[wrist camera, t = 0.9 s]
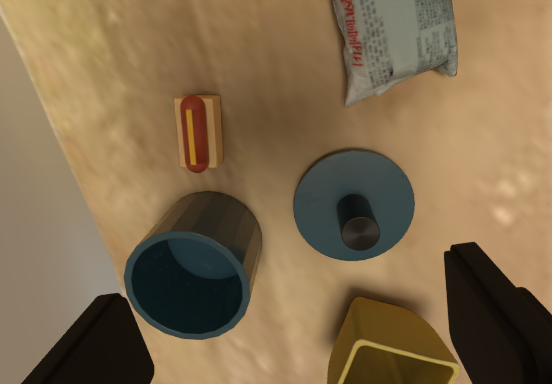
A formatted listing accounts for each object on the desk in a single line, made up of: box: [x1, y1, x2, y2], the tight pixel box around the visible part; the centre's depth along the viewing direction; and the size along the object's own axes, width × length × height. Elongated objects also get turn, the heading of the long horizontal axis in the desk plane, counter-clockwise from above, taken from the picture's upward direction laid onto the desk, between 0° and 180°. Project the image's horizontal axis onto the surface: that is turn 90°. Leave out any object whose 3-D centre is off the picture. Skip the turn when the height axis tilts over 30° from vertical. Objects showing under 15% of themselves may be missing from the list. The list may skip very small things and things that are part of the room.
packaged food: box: [333, 0, 458, 108], centre depth 26 cm, size 9×12×5 cm
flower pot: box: [327, 297, 461, 384], centre depth 35 cm, size 9×9×9 cm
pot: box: [124, 192, 262, 340], centre depth 33 cm, size 10×10×8 cm
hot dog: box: [174, 95, 223, 173], centre depth 31 cm, size 6×3×4 cm, turn 0°
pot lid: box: [294, 150, 415, 261], centre depth 32 cm, size 11×11×6 cm
